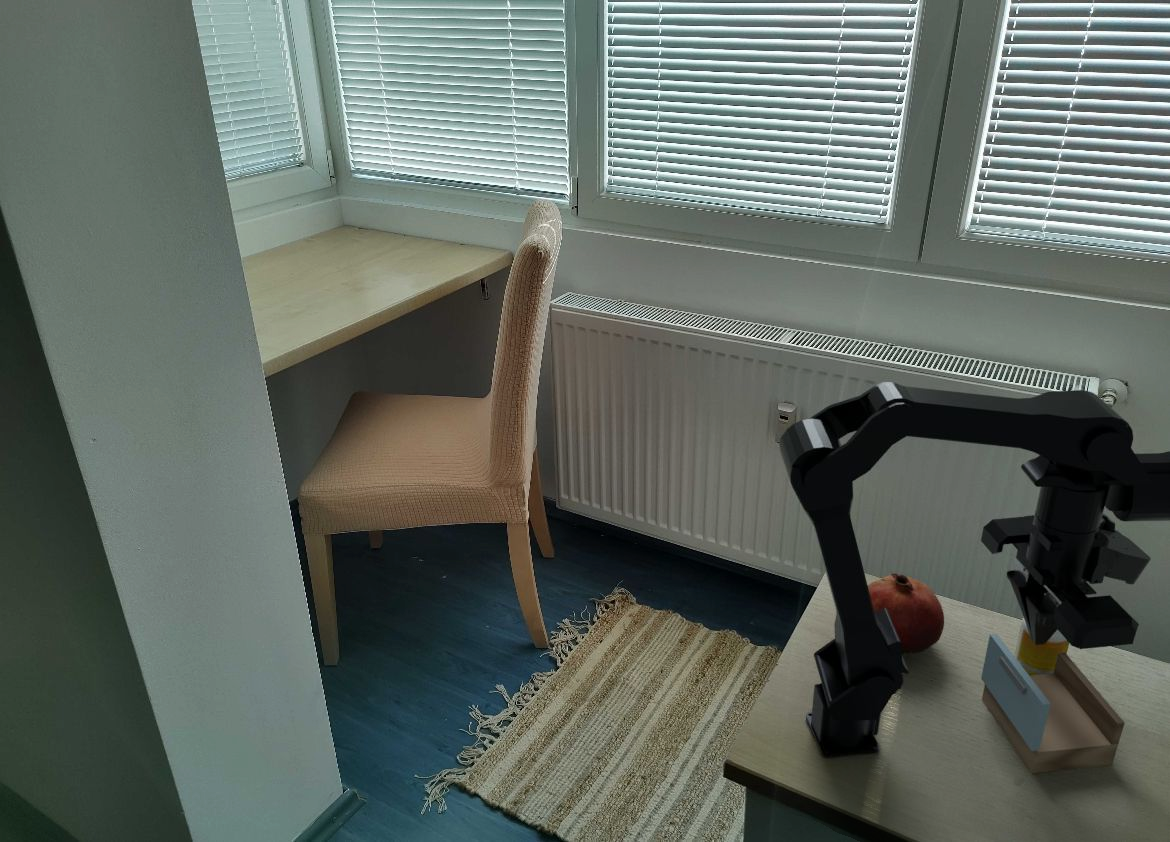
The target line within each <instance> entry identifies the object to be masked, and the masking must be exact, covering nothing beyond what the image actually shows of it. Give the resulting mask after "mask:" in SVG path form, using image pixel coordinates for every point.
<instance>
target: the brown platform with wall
mask: <svg viewBox="0 0 1170 842" xmlns="http://www.w3.org/2000/svg"><path fill="white" fill-rule="evenodd" d="M1030 677H1031V679H1032V680H1033V681H1034V683H1035V684H1036V685H1037V687H1038V688H1039V689H1040V690H1041V692H1042V693H1043V694H1044V696H1045V697H1046V698H1047V700H1048V701H1049V702H1050V703H1051V705H1050V709H1049V713H1048V717H1047V721H1046V725H1045V729H1044V733H1043V737H1042V741H1041V745H1040V749H1039V750H1038V751H1031V749H1030V748H1029V746H1028V745H1027V743H1026V742H1025V741H1024V739H1023V738H1022V736H1021V735H1020V733H1019V732H1018V731H1017V729H1016V728H1015V726H1014V725H1013V723H1012V722H1011V721H1010V719H1009V718H1008V716H1007V715H1006V713H1005V712H1004V710H1003V709H1002V708H1001V706H1000V705H999V703H998V702H997V700H996V699H995V698H994V696H993V695H992V693H991V692H990V690H989V689H988V688H987V686H986V685H985V684H984V687H983V692H982V696H981V700H982V702H983V704H984V705H985V706H986V708H987V709H988V711H989V712H990V714H991V716H992V717H993V719H995V721H996V722H997V724H998V726H999V728H1001V730H1002V731H1003V733H1004V734H1005V736H1006V738H1007V739H1008V740H1009V742H1010V743H1011V745H1012V746H1013V748H1014V749H1015V751H1016V752H1017V753H1018V755H1019V757H1020V758H1021V759H1022V761H1023V763H1024V764H1025V765H1026V767H1027V768H1028V770H1029V771H1030V773H1031V774H1033V773H1034V774H1036V773H1047V772H1054V771H1061V770H1062V771H1063V770H1072V769H1073V770H1074V769H1082V768H1090V767H1092V768H1093V767H1100V766H1109V765H1113V763H1114V760H1115V757H1116V753H1117V750H1118V746H1119V744H1120V740H1121V736H1122V733H1123V730H1124V727H1125V724H1126V722H1125V721H1124V720H1123V719H1122V718H1121V717H1120V715H1119V714H1118V713H1117V712H1116V711H1115V709H1114V708H1113V707H1112V706H1111V704H1109V703H1108V701H1107V700H1106V699H1105V697H1104V696H1103V695H1102V694H1101V693H1100V692H1099V690H1098V689H1097V688H1096V687H1095V686H1094V685H1093V683H1092V682H1091V681H1090V680H1089V679H1088V677H1087V676H1086V675H1085V674H1084V673H1083V672H1082V671H1081V669H1080V668H1079V666H1077V665H1076V663H1075V662H1074V661H1073V660H1072V659H1071V658H1070V656H1069V655H1068V654H1066V653H1058V657H1057V661H1056V665H1055V669H1054V673H1050V674H1040V675H1030Z"/></svg>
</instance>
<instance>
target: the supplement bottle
mask: <svg viewBox="0 0 1170 842" xmlns="http://www.w3.org/2000/svg"><path fill="white" fill-rule="evenodd" d="M1069 646H1070V643H1069V642H1068V641H1067V640H1066V639H1065V637H1064V636H1063V635H1062V634H1061V633H1060V632H1059V631H1058V630H1057V631H1056V632H1055V633H1054V634H1053V635H1052V636H1051V638H1050V639H1049V640H1048V641H1047V642H1046V643H1045V644H1042V645H1036V644H1035V643H1034V642H1033V641H1032V639H1031V637H1030V634H1029V631H1028V628H1027V625H1026V622H1025V619H1024V617H1023V616H1022V619H1021V624H1020V629H1019V632H1018V637H1017V642H1016V646H1015V647H1016V648H1015V650H1014V654H1013V655H1014V657H1015V658H1016V659H1017V661H1018V662H1019V663H1020V664H1021V666H1022V667H1023V668H1024V670H1025V671H1026V672H1027V674H1028V675H1029V676H1030V675H1040V674H1050V673H1054V669H1055V665H1056V661H1057V657H1058V653H1066V654H1067V653H1068V649H1069ZM1067 655H1068V654H1067Z"/></svg>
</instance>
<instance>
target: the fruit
mask: <svg viewBox="0 0 1170 842" xmlns="http://www.w3.org/2000/svg"><path fill="white" fill-rule="evenodd" d="M867 585H868V589H869V593H870V597H871V601H872V605H873V609H874V612H876V611H879V610H882V609H884V608H887V611H888V613H889V615H890V618H891V620H892V622H893V625H894V627H895V630H896V632H897V634H898V637H899V639H900V642H901V646H902V655H904V654H908V655H909V654H910V655H911V654H915V653H916V654H917V653H922V652H925V651H926V650H928V649H929V648H931V647H933V645H936V643H938V642H939V640H940V639H941V636H942V635H943V631H944V629H945V628H944V627H945V614H944V609H943V605H942V604H941V602H940V601H939V599H938V596H937V595H936V594H935V592H934V591H933V590H932V589H931V587H930V586H928V585H927V584H925V583H924V582H923V581H920V580H917V579H915V578H913V577H910V576H906V575H904V574H898V573H891V574H890V575H887V576H885V577H882V578H880V579H877V580H875V581H873V582H871V583H869V584H867Z"/></svg>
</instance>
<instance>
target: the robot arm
mask: <svg viewBox="0 0 1170 842" xmlns="http://www.w3.org/2000/svg"><path fill="white" fill-rule="evenodd" d="M851 433H853V435H852V436H851V437H850V438H849V439H848V440H847V442H845V443H844V444H842V443H841V441H840V439H841V438H843V437H845V436H846V435H848V434H851ZM907 437H911V438H920V439H931V440H940V441H948V442H955V443H956V442H957V443H967V444H976V445H977V444H978V445H985V446H986V445H987V446H993V447H995V446H998V447H1003V448H1004V447H1005V448H1014V449H1021V450H1026V451H1028V452H1032V453H1034V454H1036V455H1038V456H1037V457H1034V458H1031V459H1028V460H1027V461H1026V462H1024V463H1022V464H1021V466H1020V469H1021V470H1022V471H1023V472H1024V474H1025V476H1027V478H1028V479H1029V480H1030V481H1031V482H1032V484H1033V485H1034V486H1035V487H1036V488H1039V493H1038V498H1037V503H1036V507H1035V511H1034V514H1032V515H1025V516H1016V517H1007V518H1006V517H1005V518H1004V517H1003V518H993V519H992V520H989V522H988V523H986V524H985V525H984V526H983V527H982V533H981V538H980V541H981V543H982V544H983V545H984V547H986V549H988V551H989V552H990V554H991V555H995V554H996V555H998V554H1000V553H1002V552H1003V550H1004V549H1003V548H1004V545H1013V547H1015V549H1016V550H1017V551H1016V556H1014V557H1013V562H1014V563H1015V564H1014V565H1015V566H1014V569H1013V570H1008V571H1006V577H1007V579H1008V580H1009V583H1010V584H1011V587H1012V590H1013V593H1014V595H1015V598H1016V600H1017V602H1018V606H1019V608H1020V611H1021V613H1022V618H1023V617H1024V619H1025V622H1026V625H1027V628H1028V631H1029V634H1030V637H1031V639H1032V641H1033V642H1034V643H1035V644H1036V645H1042V644H1045V643H1046V642H1047V641H1048V640H1049V639H1050V638H1051V636H1052V635H1053V634H1054V633H1055V632H1056V631H1057V630H1058V631H1059V632H1060V633H1061V634H1062V635H1063V636H1064V637H1065V639H1066V640H1067V641H1068V642H1069V645H1070V646H1071V647H1074V648H1076V649H1080V650H1084V649H1085V650H1087V649H1095V648H1096V649H1097V648H1107V647H1116V646H1126V645H1127V646H1128V645H1134V642H1135V640H1136V636H1137V632H1138V630H1139V626H1140V624H1139V622H1138V621H1136V619H1135V618H1133V616H1131V614H1129V613H1128V611H1126V609H1125V608H1124V607H1122V605H1120V604H1119V602H1118V601H1117V600H1116V599H1114V598H1113V597H1112V595H1109V594H1108V595H1100V596H1097V593H1098V592H1097V591H1096V590H1095V589H1094V588H1093V587H1092V586H1091V585H1094V584H1095V585H1097V584H1103V582H1104V579H1105V577H1106V578H1110V579H1113V580H1118V581H1123V582H1124V583H1125V584H1127V585H1134V584H1136V581H1137V580H1138V578H1139V577H1140V576H1141V575H1142V573H1143V571H1144V570H1145V569H1146V567H1147V566H1148V564H1149V562H1150V561H1151V557H1150V556H1149V555H1148V554H1147V553H1146V552H1145V551H1144V550H1143V549H1141V548H1140V547H1139V546H1138V545H1137V544H1136V543H1135V542H1134V541H1132V540H1131V539H1130V538H1128V537H1127V536H1125V535H1123V534H1122V533H1121V532H1120V531H1119V530H1117V529H1116V523H1115V521H1114V520H1112V519H1111V518H1110V517H1109V516H1108V515H1107V514H1105V513H1104V510H1105V509H1106V510H1107V511H1110V512H1112V513H1113V515H1114V517H1115V518H1116V519H1118V520H1119V521H1121V522H1124V523H1125V522H1170V451H1164V452H1157V453H1156V452H1153V453H1146V452H1145V453H1135V452H1134V450H1133V449H1132V445H1133V441H1134V431H1133V429H1132V427H1131V425H1130V424H1129V422H1128V421H1126V419H1124V418H1123V417H1122V416H1121V415H1120V414H1119V413H1118V412H1117V411H1116V410H1114V409H1113V408H1112V407H1111V406H1110V405H1109V404H1108V403H1106V401H1104V400H1103V399H1102V398H1101V397H1100V396H1098V395H1097V394H1096V393H1095V392H1092V391H1089V390H1084V389H1077V390H1076V389H1074V390H1072V389H1071V390H1058V391H1057V390H1056V391H1054V390H1053V391H1052V390H1051V391H1046V392H1043V393H1040V394H1038V395H1036V396H1035V395H1034V396H1033V397H1022V398H1018V397H1017V398H1015V397H1008V396H1007V397H1006V396H999V395H998V396H997V395H988V394H978V393H970V392H960V391H951V390H941V389H933V388H922V387H914V386H905V385H901V384H899V383H897V382H890V381H886V382H885V381H884V382H880V383H878V384H875V385H874V386H872V387H871V388H869V389H868V390H866V391H865V392H863V393H861V394H860V395H858V396H855V397H852V398H851V397H850V398H848V399H846V400H842V401H839V402H836V403H832V404H829V405H828V406H826V407H825V408H823V409H822V410H819V412H817V413H815V414H814V415H813V416H811V417H809V418H807V419H801V420H799V421H797V422H795V423H793V424H791V425H790V426H789V427H788V428H786V430H785V431H784V433H783V434H782V435H781V436H780V438H779V443H778V445H779V452H780V455H781V458H782V461H783V464H784V467H785V471H786V473H787V476H788V479H789V482H790V484H791V487H792V489H793V491H794V493H795V495H796V497H797V498H798V501H799V503H800V504H801V507H802V509H803V510H804V512H805V514H806V515H807V517H808V519H809V520H810V521H811V524H812V527H813V530H814V533H815V537H816V541H817V542H816V543H817V546H818V549H819V552H820V556H821V560H822V563H823V567H824V571H825V574H826V577H827V581H828V585H829V588H830V589H829V590H830V592H831V595H832V599H833V603H834V607H835V610H836V611H835V613H836V614H835V615H836V616H835V621H834V638H833V639H831V641H829V642H828V643H826V644H824V645H823V646H822V647H820V649H818V650H816V651H815V652H814V653H813V657H814V662H815V664H816V668H817V673H818V675H819V679H820V682H821V683H817V684H814V686H813V695H812V696H813V697H812V708H811V711H807V712H806V714H805V719H806V721H807V724H808V725H809V728H810V730H811V733H812V735H813V737H814V740H815V742H816V744H817V746H818V749H819V752H820V755H821V756H822V757H824V758H835V757H836V758H837V757H844V756H845V757H846V756H855V755H865V754H874V753H878V752H879V751H880V745H879V743H878V741H877V738H876V737H875V736H878V735H879V731H880V722H881V718H882V717H881V716H882V713H883V711H884V709H885V708H886V705H888V702H890V700H891V698H892V697H893V695H895V694H896V693H897V692H898V691H899V690H902V688H903V686H904V675H903V674H905V675H909V674H910V671H909V669H908V666H907V663H906V662H905V659H904V657H903V654H902V646H901V642H900V639H899V637H898V634H897V632H896V630H895V627H894V625H893V622H892V620H891V618H890V615H889V613H888V611H887V608H884V609H882V610H879V611H876V612H874V609H873V605H872V601H871V597H870V593H869V589H868V585H869V584H868V582H867V577H866V575H865V574H866V573H865V569H864V565H863V561H862V558H861V555H860V550H859V546H858V542H857V538H856V535H855V534H856V533H855V530H854V526H853V521H852V519H851V518H852V517H851V512H852V506H853V501H854V483H853V482H854V481H856V480H857V479H859V478H862V476H864V475H865V474H867V473H869V472H870V471H871V469H872V468H874V467H875V465H876V464H877V463H878V462H879V461H880V460H881V459H882V458H883V457H884V455H885V454H886V453H887V452H888V451H889V449H890V448H892V446H893V445H895V444H896V443H898V442H899V441H902V440H903V439H905V438H907Z"/></svg>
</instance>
